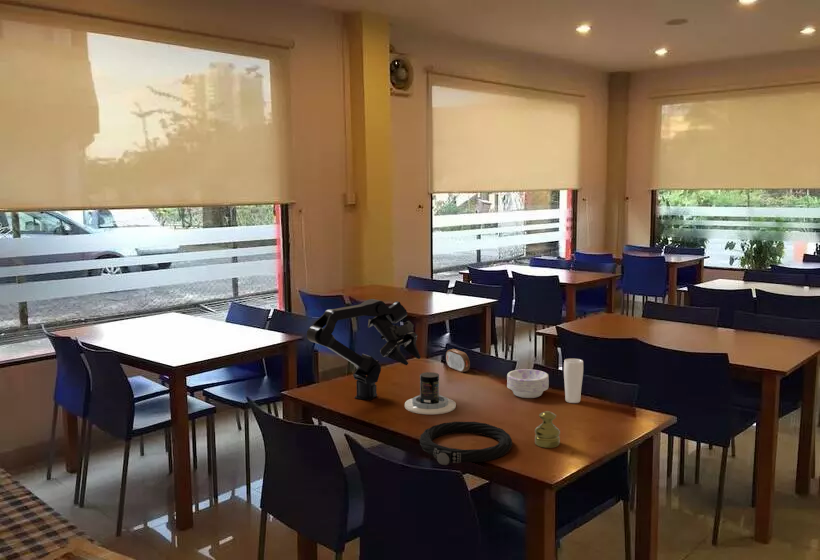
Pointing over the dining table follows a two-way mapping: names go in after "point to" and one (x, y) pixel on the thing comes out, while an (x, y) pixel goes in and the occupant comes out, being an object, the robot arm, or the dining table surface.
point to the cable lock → (459, 455)
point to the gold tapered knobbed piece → (547, 431)
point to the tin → (457, 360)
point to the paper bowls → (527, 382)
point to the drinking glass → (573, 379)
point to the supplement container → (429, 388)
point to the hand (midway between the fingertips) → (413, 361)
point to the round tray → (427, 411)
